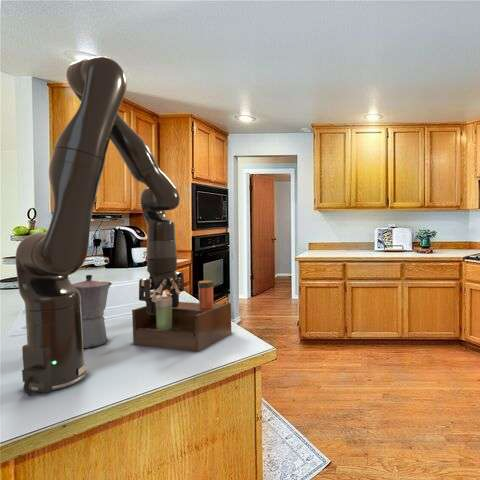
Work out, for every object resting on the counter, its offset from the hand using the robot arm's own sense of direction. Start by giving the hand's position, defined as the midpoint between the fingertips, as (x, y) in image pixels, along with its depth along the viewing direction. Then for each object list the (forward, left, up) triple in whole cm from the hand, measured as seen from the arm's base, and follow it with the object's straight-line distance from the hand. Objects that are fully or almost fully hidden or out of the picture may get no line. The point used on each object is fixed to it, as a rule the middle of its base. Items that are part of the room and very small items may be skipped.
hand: (163, 310), depth 102 cm
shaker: (0, 0, -5) cm, 5 cm away
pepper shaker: (+8, -9, 0) cm, 11 cm away
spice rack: (+4, -4, -9) cm, 11 cm away
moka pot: (-7, +19, -9) cm, 23 cm away
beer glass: (+22, +21, -9) cm, 32 cm away
